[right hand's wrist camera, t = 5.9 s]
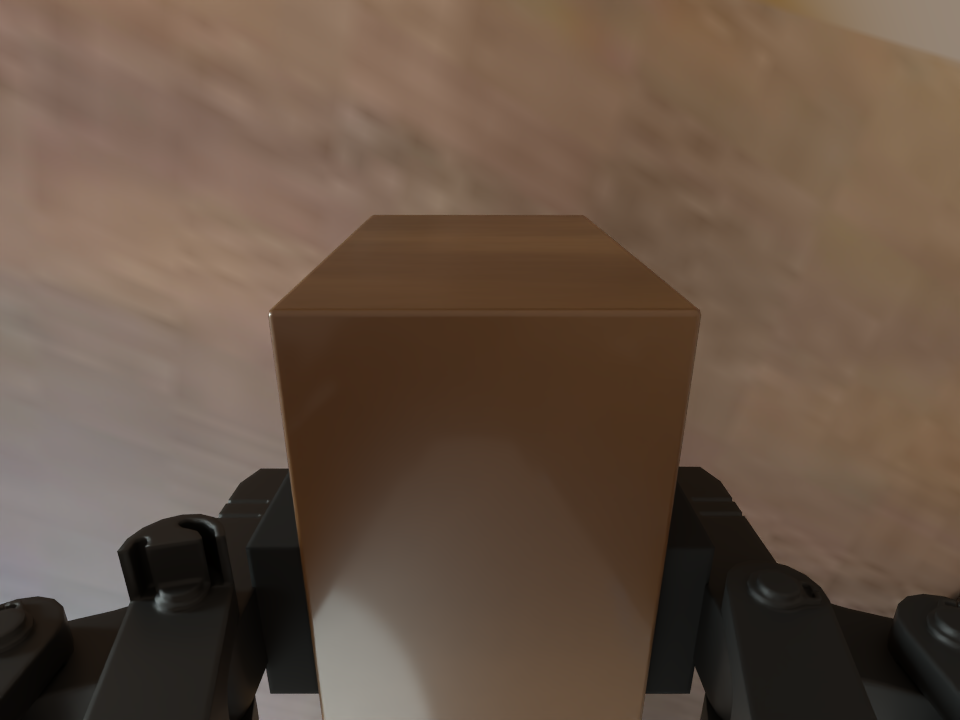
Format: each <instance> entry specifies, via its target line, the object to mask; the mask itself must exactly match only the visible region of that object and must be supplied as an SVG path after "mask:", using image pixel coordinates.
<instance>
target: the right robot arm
mask: <svg viewBox="0 0 960 720" xmlns="http://www.w3.org/2000/svg"><path fill="white" fill-rule="evenodd" d="M117 552H118V556H119V560H120V563H121V567H122V571H123V575H124V578H125V582H126V586H127V590H128V593H129V597H130V604H129V606H128V607H125V608H121V609H118V610H114V611H110V612H106V613H102V614H97V615H93V616H88V617H84V618H79V619H75V620H71V621H67V617H66V614H65V611H64V608H63V606H62V605H61V604H59V603H58V602H57V601H56V600H55V599H51V598H45V597H39V596H37V597H30V598H22V599H16V600H13V601H10V602H6V603H4V604H1V605H0V720H259V717H258V709H257V703H256V698H255V694H256V691H257V689H258V686H259V684H260V681H261V679H262V676H263V674H264V671H265V669H266V670H267V676H268V682H269V688H270V694H319V690H318V683H317V675H316V668H315V660H314V653H313V646H312V638H311V631H310V623H309V616H308V608H307V601H306V593H305V586H304V579H303V571H302V564H301V556H300V549H299V541H298V534H297V526H296V519H295V512H294V504H293V497H292V489H291V482H290V474H289V469H260V470H258V471H257V472H255V473H254V474H253V475H251V476H250V477H248V478H247V479H245V480H244V481H243V482H241V483H240V484H239V486H238V487H237V489H236V490H235V492H234V493H233V494H232V496H231V497H230V499H229V502H228V504H226V505H225V506H224V508H223V509H222V511H221V512H220V513H219V518H214V517H210V516H206V515H202V514H188V515H179V516H175V517H170V518H166V519H162V520H160V521H157V522H155V523H153V524H151V525H148V526H146V527H144V528H142V529H141V530H139V531H138V532H136V533H135V534H133V535H132V536H131V537H129V538H128V539H127V540H126V541H125V542H124V544H123V545H122V546H121V547H120V549H119V550H118V551H117ZM694 667H696V670H697V672H698V675H699V677H700V680H701V682H702V685H703V687H704V690H705V698H704V703H703V708H702V714H701V719H700V720H960V598H959V599H958V600H953V599H950V598H947V597H943V596H935V595H927V594H920V595H913V596H907V597H906V598H905V599H904V600H902V601H901V602H900V603H899V604H898V606H897V610H896V613H895V616H894V619H892V618H888V617H883V616H879V615H874V614H870V613H865V612H861V611H856V610H852V609H848V608H844V607H841V606H837V605H834V604H831V603H830V600H829V599H828V597H827V596H826V594H825V593H824V591H823V590H822V588H821V587H820V586H819V585H817V584H816V583H815V582H814V581H812V580H811V579H810V578H809V577H807V576H806V575H805V574H803V573H801V572H798V571H796V570H794V569H792V568H790V567H788V566H786V565H782V564H778V563H776V561H775V560H774V558H773V557H772V555H771V554H770V553H769V551H768V550H767V548H766V547H765V545H764V544H763V542H762V541H761V539H760V538H759V537H758V535H757V534H756V532H755V531H754V529H753V528H752V526H751V525H750V524H749V522H748V521H747V519H746V518H745V516H742V512H741V510H740V509H739V508H738V506H737V505H736V503H735V502H732V497H731V496H730V494H729V493H728V492H727V490H726V489H725V487H724V486H723V484H722V483H721V481H719V480H718V479H716V478H715V477H714V476H712V475H711V474H709V473H708V472H706V471H705V470H704V469H702V468H701V467H679V468H678V475H677V481H676V488H675V495H674V502H673V509H672V515H671V522H670V529H669V536H668V543H667V549H666V556H665V563H664V570H663V577H662V583H661V590H660V597H659V604H658V611H657V617H656V624H655V631H654V638H653V644H652V651H651V658H650V665H649V672H648V678H647V685H646V692H645V694H690V690H691V684H692V678H693V672H694Z"/></svg>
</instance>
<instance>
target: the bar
mask: <svg viewBox="0 0 960 720" xmlns="http://www.w3.org/2000/svg"><path fill="white" fill-rule="evenodd" d="M268 318H269V325H270V333H271V340H272V348H273V355H274V363H275V370H276V377H277V385H278V392H279V400H280V407H281V415H282V422H283V430H284V437H285V445H286V452H287V459H288V467H289V474H290V482H291V489H292V497H293V504H294V512H295V519H296V526H297V534H298V541H299V549H300V556H301V564H302V571H303V579H304V586H305V593H306V601H307V608H308V616H309V623H310V631H311V638H312V646H313V653H314V660H315V668H316V675H317V683H318V690H319V698H320V705H321V713H322V720H641V719H642V712H643V706H644V699H645V692H646V685H647V678H648V672H649V665H650V658H651V651H652V644H653V638H654V631H655V624H656V617H657V611H658V604H659V597H660V590H661V583H662V577H663V570H664V563H665V556H666V549H667V543H668V536H669V529H670V522H671V515H672V509H673V502H674V495H675V488H676V481H677V475H678V468H679V461H680V454H681V448H682V441H683V434H684V427H685V420H686V414H687V407H688V400H689V393H690V386H691V380H692V373H693V366H694V359H695V352H696V346H697V339H698V332H699V325H700V319H701V313H700V310H699V309H698V308H696V307H695V306H694V305H693V304H692V303H690V302H689V301H688V300H687V299H685V298H684V297H683V296H682V295H681V294H679V293H678V292H677V291H676V290H674V289H673V288H672V287H671V286H670V285H668V284H667V283H666V282H665V281H663V280H662V279H661V278H660V277H659V276H657V275H656V274H655V273H654V272H652V271H651V270H650V269H649V268H648V267H646V266H645V265H644V264H643V263H641V262H640V261H639V260H638V259H637V258H635V257H634V256H633V255H632V254H630V253H629V252H628V251H627V250H626V249H624V248H623V247H622V246H621V245H619V244H618V243H617V242H616V241H615V240H613V239H612V238H611V237H610V236H608V235H607V234H606V233H605V232H603V231H602V230H601V229H600V228H599V227H597V226H596V225H595V224H594V223H592V222H591V221H590V220H589V219H588V218H586V217H585V216H583V215H373V216H371V217H370V218H369V219H368V220H367V221H366V222H365V223H363V224H362V225H361V226H360V227H359V228H358V229H357V230H356V231H355V232H354V233H353V234H352V235H351V236H349V237H348V238H347V239H346V240H345V241H344V242H343V243H342V244H341V245H340V246H339V247H338V248H337V249H335V250H334V251H333V252H332V253H331V254H330V255H329V256H328V257H327V258H326V259H325V260H324V261H322V262H321V263H320V264H319V265H318V266H317V267H316V268H315V269H314V270H313V271H312V272H311V273H310V274H308V275H307V276H306V277H305V278H304V279H303V280H302V281H301V282H300V283H299V284H298V285H297V286H295V287H294V288H293V289H292V290H291V291H290V292H289V293H288V294H287V295H286V296H285V297H284V298H283V299H281V300H280V301H279V302H278V303H277V304H276V305H275V306H274V307H273V308H272V309H271V310H270V311H269V314H268Z"/></svg>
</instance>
